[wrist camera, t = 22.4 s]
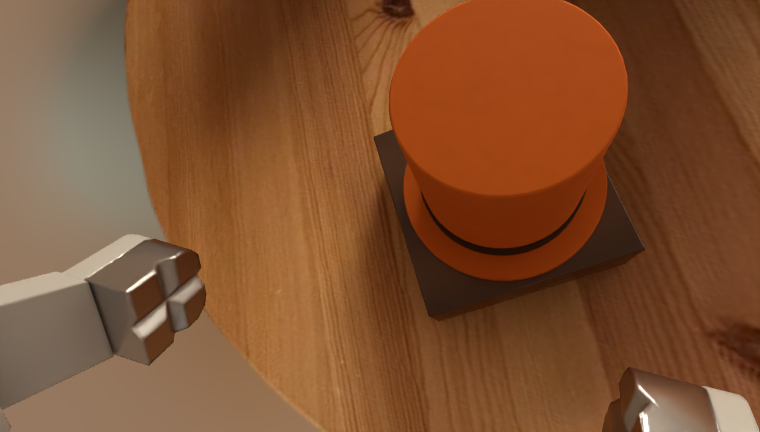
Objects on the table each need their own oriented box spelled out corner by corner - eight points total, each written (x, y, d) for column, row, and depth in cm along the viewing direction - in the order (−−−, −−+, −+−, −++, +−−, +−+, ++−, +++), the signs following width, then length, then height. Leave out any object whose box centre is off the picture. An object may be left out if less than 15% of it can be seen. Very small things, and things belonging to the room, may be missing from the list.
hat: (640, 243, 18) (740, 168, 11) (437, 306, 19) (400, 279, 12) (556, 73, 21) (589, -81, 13) (384, 137, 22) (327, 29, 15)
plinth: (626, 262, 21) (646, 249, 18) (437, 321, 22) (428, 317, 19) (548, 100, 24) (555, 66, 21) (386, 160, 25) (372, 136, 22)
